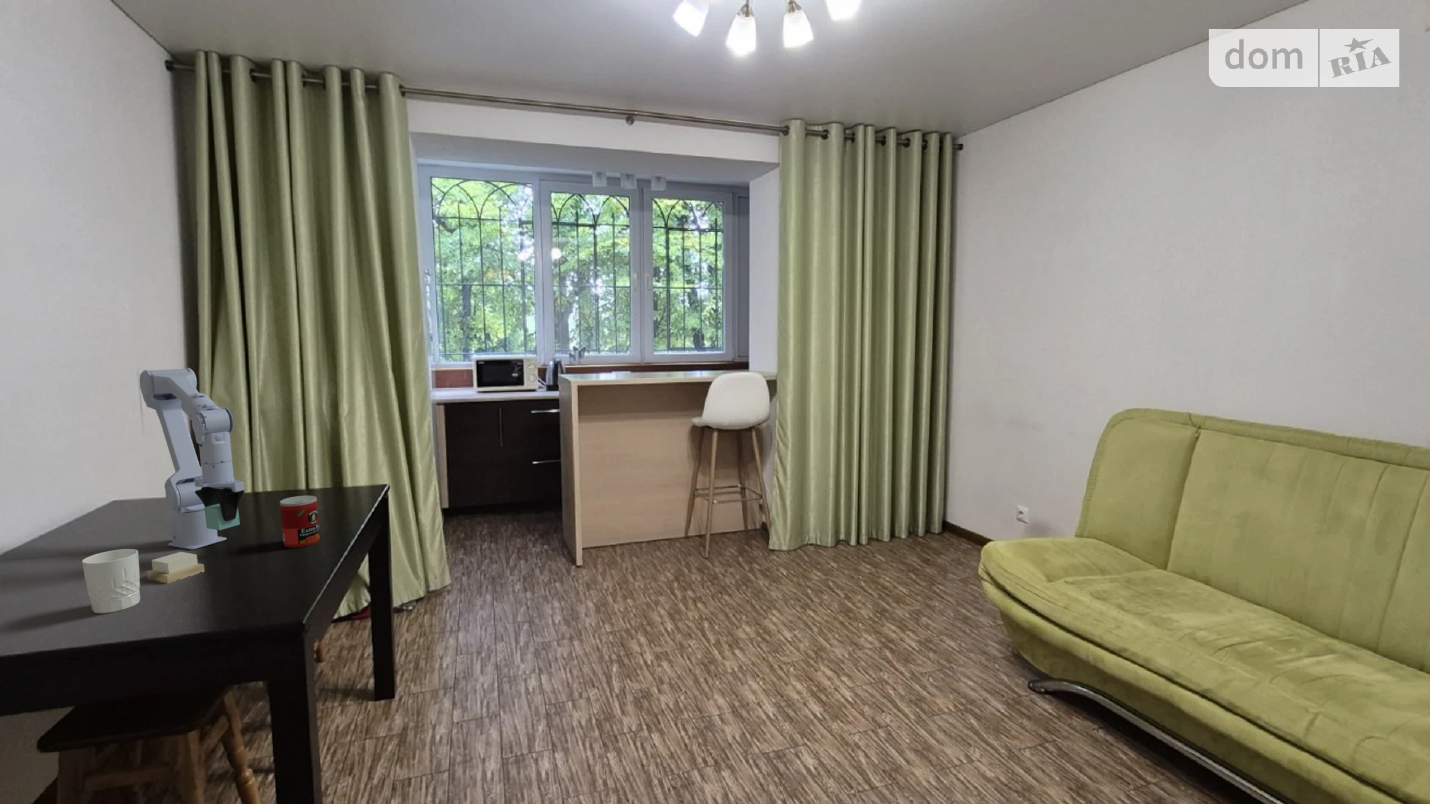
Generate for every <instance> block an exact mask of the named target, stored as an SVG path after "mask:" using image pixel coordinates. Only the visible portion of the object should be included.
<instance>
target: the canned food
mask: <svg viewBox="0 0 1430 804" xmlns="http://www.w3.org/2000/svg"><path fill="white" fill-rule="evenodd" d="M318 507H319V505H318V499H317V496H315V495H298V496H291V497H287V498H283V499H282V500H280V501H279V512H280V513H279V514H280V523H281V531H282V532H281V533H282V534H281V535H282V541H283V542H282V543H283V545H284V547H285V548H290V549H296V548H297V547H299V548H304V546H306V547H309V545H310V546H313V545H315V544H317V543H319V542H320V539H321V529H320V519H319V508H318Z"/></svg>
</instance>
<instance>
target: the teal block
mask: <svg viewBox="0 0 1430 804" xmlns="http://www.w3.org/2000/svg"><path fill="white" fill-rule="evenodd" d="M204 510H205V518H206V526H207V529H214V530H217V531H222V530H225V529H229V528H232V527H236V526H239V525H241V523H240V514H239V513H240V512H239V507H238V508H237V513H236V518H235V519H233V520H229V521H224V519H223V516H222V512H221V507H220V505H219V504H216V505H212V506H208V507H204Z"/></svg>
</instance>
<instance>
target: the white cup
mask: <svg viewBox="0 0 1430 804" xmlns="http://www.w3.org/2000/svg"><path fill="white" fill-rule="evenodd" d="M139 559H140V558H139V550H137V549H136V548H135V549H134V548H121V549H114V550H108V551H103V552H99V553H95V554H92V555H90V556H87V557H85V558H83V559H82V560H81V565H82V569H83V575H84V580H85V586H86V589H87V594H88V597H89V600H90V606H91V611H92V612H93V613H95V614H107V613H114V612H120V611H123V610H126V609H129V608H131V607H134V606H136V605H138V604H139V602H140V601H141V591H140V586H141V581H140V573H141V572H140V560H139Z"/></svg>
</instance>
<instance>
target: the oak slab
mask: <svg viewBox="0 0 1430 804" xmlns="http://www.w3.org/2000/svg"><path fill="white" fill-rule="evenodd" d="M200 572H202V573H204V572H205V565H204V563H200V562H199V563H198V565H194V566H191V567H188V568H185V569H182V570H179V571H175V572H172V573H164V572H159V571H154V570H153V569H150V570H147V571H146V575H147V576H146V577H147V578H146V579H147V580H150V579H153V580H152V581H154V580H156V581H155V582H159V581H160V582H159V583H164V584H171V583H173V581H174V582H177V581H179V580H178V579H180V580H183V579H186V577H187V578H189V577H188V576H190V577H193V576H195V574H196V575H198V573H199V574H201V573H200ZM176 580H177V581H176Z"/></svg>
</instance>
